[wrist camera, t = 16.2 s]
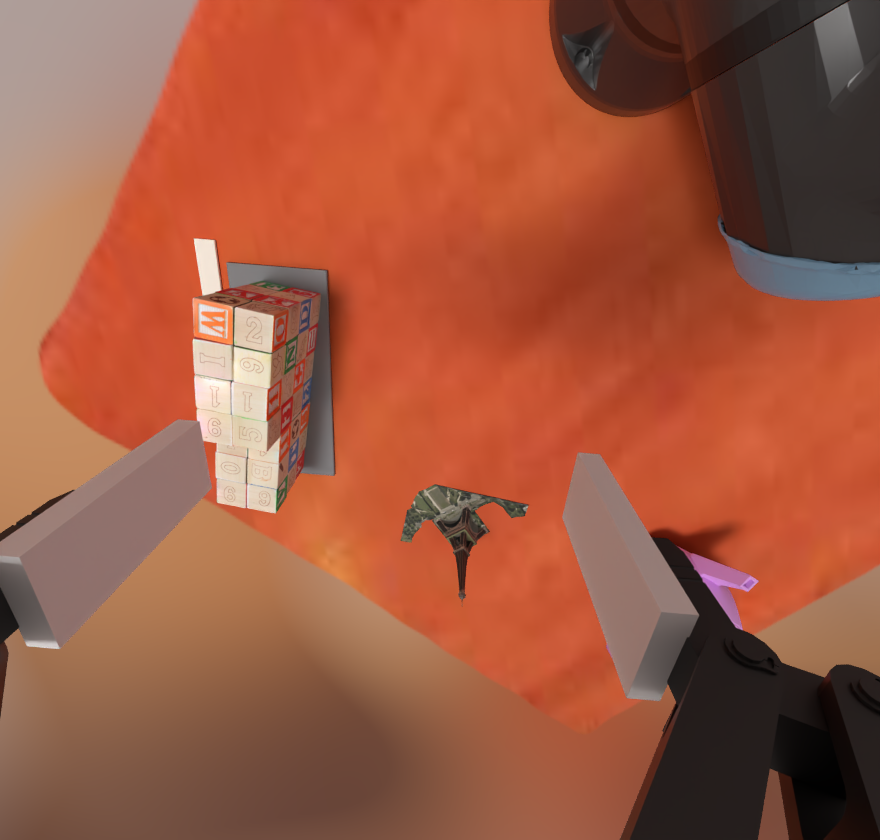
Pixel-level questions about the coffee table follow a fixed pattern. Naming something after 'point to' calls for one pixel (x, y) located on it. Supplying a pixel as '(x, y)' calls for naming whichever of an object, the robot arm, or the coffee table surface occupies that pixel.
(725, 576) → the teapot
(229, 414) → the stack of blocks
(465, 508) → the eiffel tower figurine
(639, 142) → the coffee table surface
